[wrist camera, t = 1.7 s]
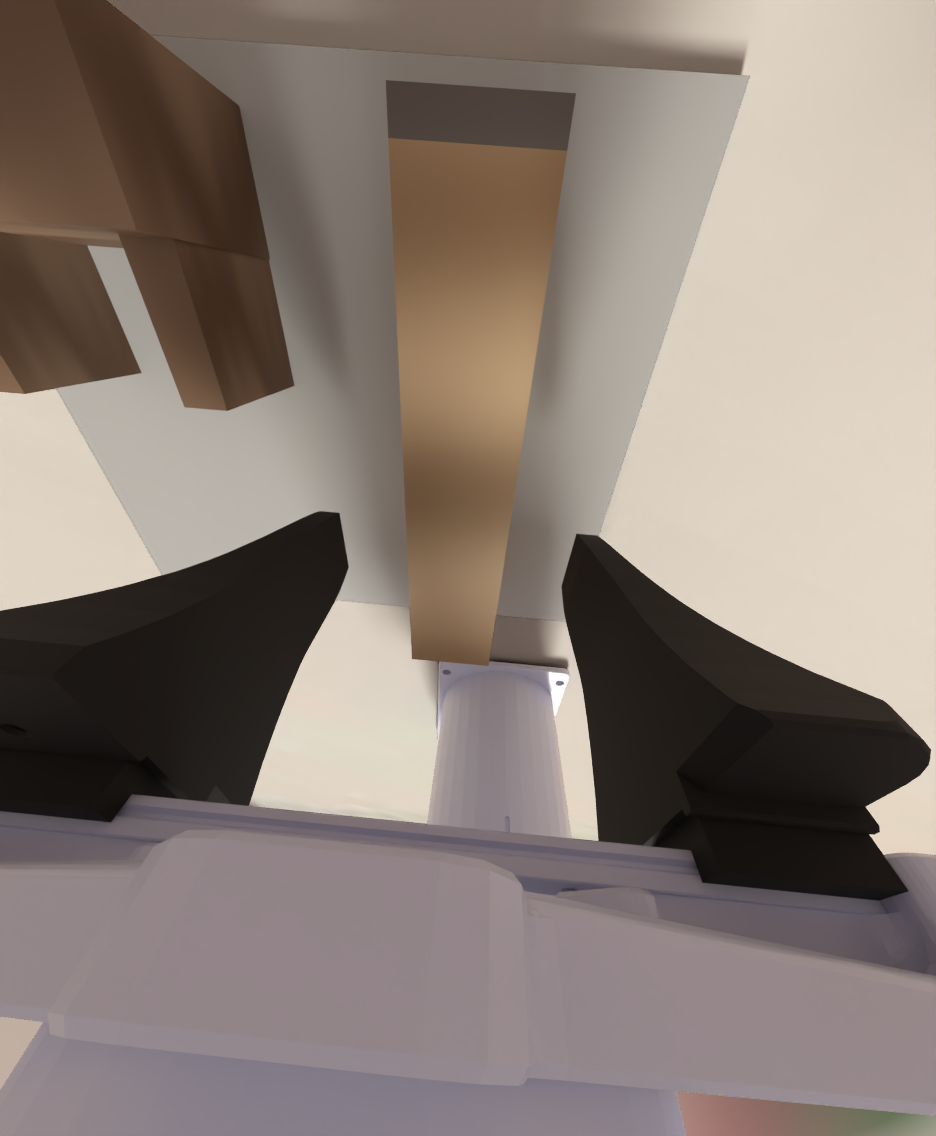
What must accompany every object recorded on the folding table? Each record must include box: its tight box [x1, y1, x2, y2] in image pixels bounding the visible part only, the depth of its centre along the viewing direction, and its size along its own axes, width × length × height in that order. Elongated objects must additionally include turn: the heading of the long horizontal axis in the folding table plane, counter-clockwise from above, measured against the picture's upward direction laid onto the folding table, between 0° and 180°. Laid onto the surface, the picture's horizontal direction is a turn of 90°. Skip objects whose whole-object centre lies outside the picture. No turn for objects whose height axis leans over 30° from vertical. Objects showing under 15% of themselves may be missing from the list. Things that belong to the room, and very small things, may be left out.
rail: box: [386, 80, 576, 666], centre depth 12 cm, size 14×3×5 cm, turn 176°
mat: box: [56, 35, 750, 622], centre depth 14 cm, size 18×22×1 cm
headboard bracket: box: [0, 0, 295, 411], centre depth 9 cm, size 6×7×5 cm
